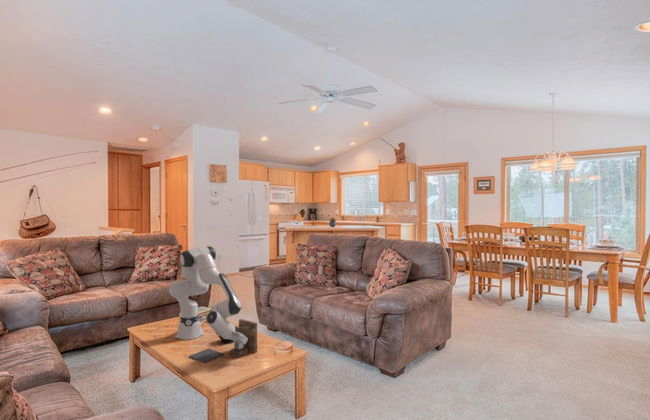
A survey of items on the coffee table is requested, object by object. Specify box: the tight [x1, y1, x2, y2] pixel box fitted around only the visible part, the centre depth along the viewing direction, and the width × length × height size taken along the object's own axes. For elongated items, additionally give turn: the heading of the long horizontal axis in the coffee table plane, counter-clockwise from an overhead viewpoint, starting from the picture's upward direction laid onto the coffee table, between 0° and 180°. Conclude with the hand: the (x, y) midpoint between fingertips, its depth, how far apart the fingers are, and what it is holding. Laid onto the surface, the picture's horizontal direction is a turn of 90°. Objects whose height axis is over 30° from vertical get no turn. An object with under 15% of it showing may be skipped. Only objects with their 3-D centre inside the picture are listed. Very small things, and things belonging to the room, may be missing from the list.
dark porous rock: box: [218, 325, 239, 345], centre depth 245 cm, size 10×18×10 cm, turn 141°
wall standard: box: [230, 318, 258, 358], centre depth 223 cm, size 12×14×18 cm
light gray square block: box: [233, 341, 244, 351], centre depth 221 cm, size 4×4×10 cm
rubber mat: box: [188, 347, 224, 364], centre depth 218 cm, size 14×14×1 cm
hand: (239, 342), depth 222 cm, fingers closed on light gray square block, 4 cm apart
